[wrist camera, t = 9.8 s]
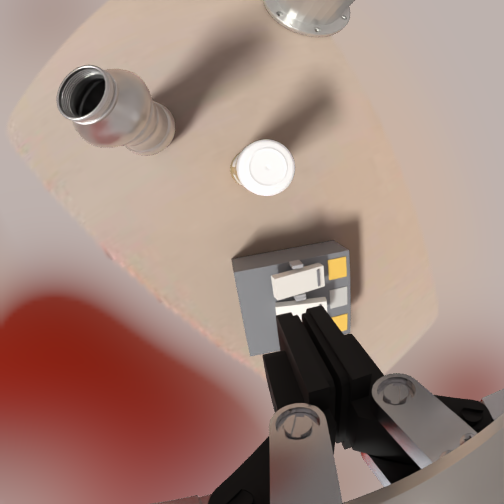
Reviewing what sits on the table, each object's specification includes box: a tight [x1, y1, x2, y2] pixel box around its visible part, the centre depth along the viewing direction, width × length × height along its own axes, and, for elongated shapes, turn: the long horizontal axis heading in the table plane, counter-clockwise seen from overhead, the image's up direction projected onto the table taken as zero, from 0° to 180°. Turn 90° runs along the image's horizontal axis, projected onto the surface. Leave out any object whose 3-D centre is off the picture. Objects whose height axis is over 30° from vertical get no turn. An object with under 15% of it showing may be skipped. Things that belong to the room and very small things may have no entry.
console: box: [232, 240, 351, 356], centre depth 36 cm, size 12×14×7 cm
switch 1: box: [271, 263, 325, 300], centre depth 32 cm, size 3×6×1 cm, turn 98°
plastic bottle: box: [57, 65, 175, 156], centre depth 22 cm, size 6×7×20 cm
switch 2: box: [275, 297, 327, 321], centre depth 33 cm, size 3×6×1 cm, turn 99°
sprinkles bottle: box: [230, 139, 295, 196], centre depth 28 cm, size 5×5×14 cm
